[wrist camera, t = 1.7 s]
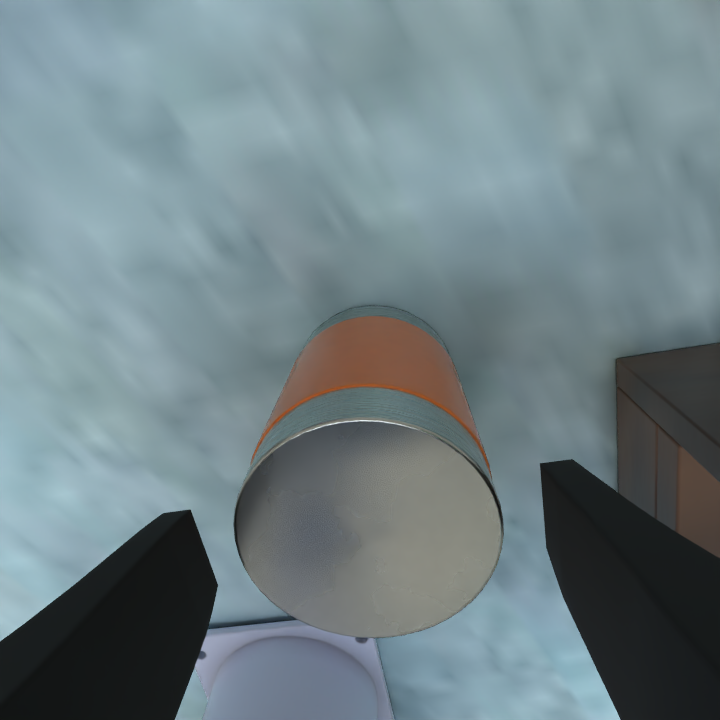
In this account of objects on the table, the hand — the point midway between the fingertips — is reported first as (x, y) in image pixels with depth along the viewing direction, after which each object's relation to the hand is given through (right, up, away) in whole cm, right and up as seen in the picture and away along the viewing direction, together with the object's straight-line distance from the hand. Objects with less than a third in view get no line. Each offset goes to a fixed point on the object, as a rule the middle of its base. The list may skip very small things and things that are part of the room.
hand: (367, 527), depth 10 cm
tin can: (0, +3, +7) cm, 8 cm away
